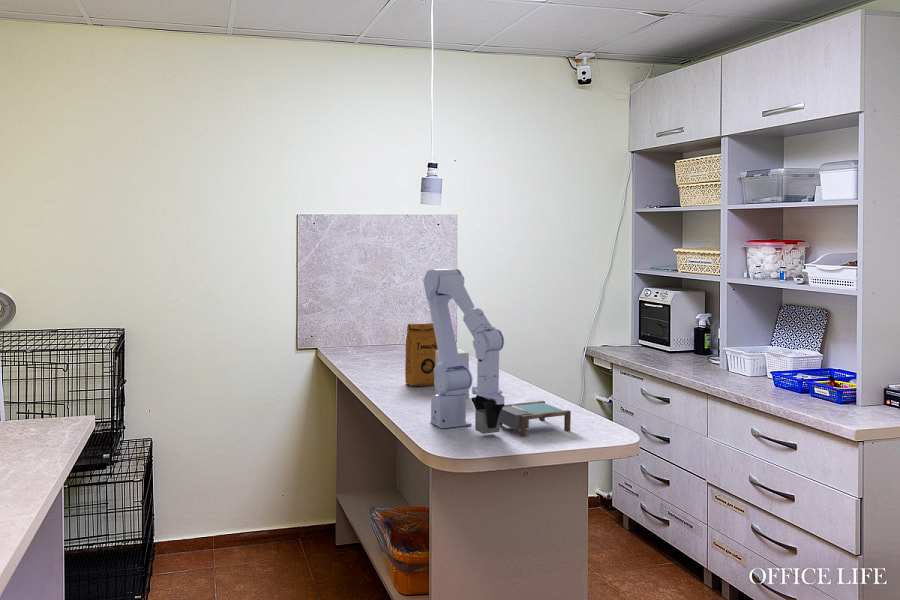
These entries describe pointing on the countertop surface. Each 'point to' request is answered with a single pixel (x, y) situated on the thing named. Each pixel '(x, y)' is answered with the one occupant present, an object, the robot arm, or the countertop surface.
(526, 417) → the frame
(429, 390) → the countertop surface
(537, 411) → the trapdoor
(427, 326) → the coffee package
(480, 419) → the gray block
